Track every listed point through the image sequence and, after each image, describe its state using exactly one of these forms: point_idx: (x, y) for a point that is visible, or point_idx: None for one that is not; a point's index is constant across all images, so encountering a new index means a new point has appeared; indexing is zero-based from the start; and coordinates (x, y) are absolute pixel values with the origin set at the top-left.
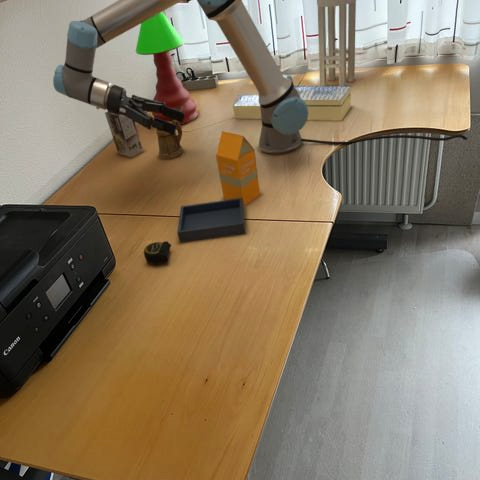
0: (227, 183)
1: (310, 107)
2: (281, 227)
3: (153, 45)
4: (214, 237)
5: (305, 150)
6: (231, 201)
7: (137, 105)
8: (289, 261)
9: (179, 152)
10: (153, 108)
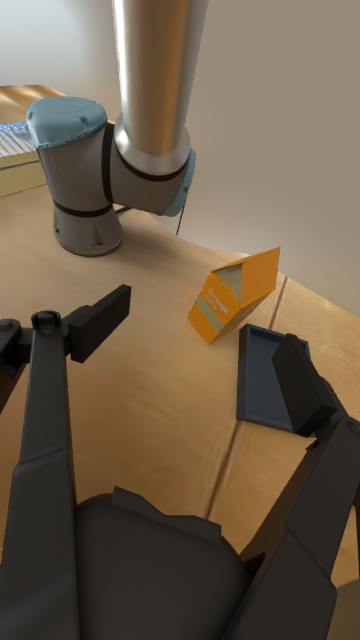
0: (229, 326)
1: (36, 164)
2: (289, 311)
3: None
4: None
5: (129, 226)
6: (249, 337)
7: (308, 570)
8: (343, 326)
9: None
10: (67, 393)
